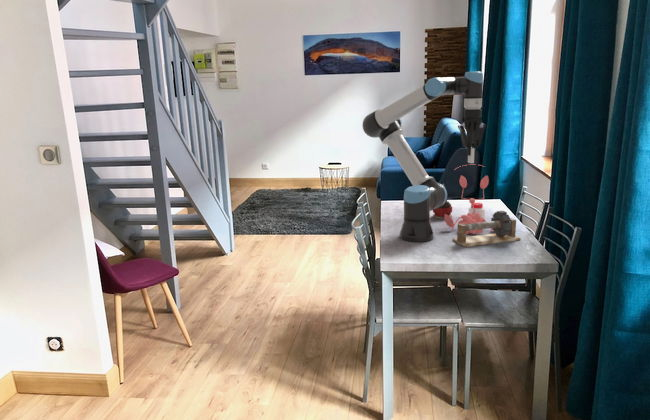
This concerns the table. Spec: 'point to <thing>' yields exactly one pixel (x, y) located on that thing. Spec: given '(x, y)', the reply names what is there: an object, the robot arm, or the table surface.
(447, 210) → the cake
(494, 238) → the pipe rig
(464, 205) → the table surface
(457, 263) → the table surface
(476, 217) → the figurine
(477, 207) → the pill bottle
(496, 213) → the square-toothed gear
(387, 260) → the table surface
